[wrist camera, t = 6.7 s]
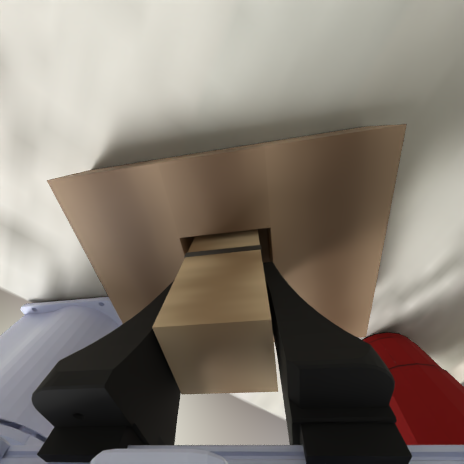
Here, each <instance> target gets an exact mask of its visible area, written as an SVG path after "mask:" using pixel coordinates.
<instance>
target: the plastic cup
mask: <svg viewBox="0 0 464 464" xmlns="http://www.w3.org/2000/svg"><path fill="white" fill-rule="evenodd" d="M363 341H365V342H367V343H368V344H370V345H371V346H372V347H373V348H374V350H375V351H376V352H377V354H378V355H379V356H380V357H381V359H382V360H383V361H384V363H385V364H386V366H387V367H388V369H389V371H390V372H391V374H392V375H393V378H394V380H395V388H394V391H393V394H392V397H391V400H390V403H389V405H390V407H391V409H392V411H393V413H394V415H395V416H396V420H397V421H396V423H395V424H396V426H397V428H398V430H399V432H400V434H401V435H402V437H403V439H404V441H405V443H406V445H464V387H463V386H462V385H461V384H460V383H459V382H458V381H457V380H456V379H455V378H454V377H453V376H451V375H450V374H449V373H448V372H447V371H446V370H444V369H442V368H441V367H440V366H439V365H438V364H437V363H436V362H435V361H434V360H432V359H431V358H430V357H429V356H428V355H427V354H426V353H425V352H424V351H423V350H422V349H421V348H420V347H419V346H418V345H417V344H415V343H414V342H412V341H411V340H410V339H408V338H407V337H405V336H403V335H401V334H397V333H381V334H375V335H373V336H370V337H368V338H365V339H364V340H363Z"/></svg>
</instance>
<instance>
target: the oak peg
mask: <svg viewBox="0 0 464 464" xmlns="http://www.w3.org/2000/svg"><path fill="white" fill-rule="evenodd" d="M184 258H185V259H184V261H183V263H182V265H181V267H180V270H179V272H178V274H177V276H176V278H175V280H174V282H173V284H172V286H171V289H170V291H169V293H168V295H167V297H166V299H165V301H164V303H163V306H162V308H161V310H160V312H159V314H158V316H157V318H156V320H155V322H154V325H153V327H152V328H153V331H154V333H155V335H156V337H157V340H158V342H159V344H160V347H161V349H162V351H163V353H164V356H165V358H166V360H167V362H168V365H169V367H170V369H171V371H172V374H173V376H174V378H175V380H176V383H177V385H178V387H179V389H180V392H181V394H208V393H209V394H210V393H245V392H278V385H277V374H276V364H275V353H274V342H273V332H272V321H271V314H270V307H269V301H268V294H267V288H266V281H265V275H264V268H263V258H262V249H261V245H260V242H259V236H258V229H253V230H245V231H236V232H227V233H218V234H209V235H201V236H195V238H194V240H193V242H192V244H191V246H190V248H189V251H188V253H186V254H185V256H184Z"/></svg>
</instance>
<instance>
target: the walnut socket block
mask: <svg viewBox="0 0 464 464" xmlns="http://www.w3.org/2000/svg"><path fill="white" fill-rule="evenodd" d="M406 125H407V124H401V125H384V126H367V127H359V128H353V129H347V130H340V131H334V132H328V133H321V134H315V135H309V136H303V137H296V138H290V139H284V140H277V141H271V142H265V143H258V144H252V145H246V146H239V147H233V148H227V149H220V150H214V151H208V152H202V153H195V154H189V155H183V156H176V157H170V158H164V159H157V160H151V161H145V162H138V163H132V164H126V165H120V166H113V167H107V168H101V169H94V170H89V171H85V172H80V173H76V174H72V175H68V176H64V177H59V178H55V179H51V180H47V182H48V183H49V185H50V187H51V189H52V191H53V193H54V195H55V197H56V199H57V200H58V202H59V204H60V206H61V208H62V210H63V212H64V214H65V215H66V217H67V219H68V221H69V223H70V225H71V227H72V229H73V231H74V232H75V234H76V236H77V238H78V240H79V242H80V244H81V246H82V248H83V249H84V251H85V253H86V255H87V257H88V259H89V261H90V263H91V265H92V266H93V268H94V270H95V272H96V274H97V276H98V278H99V280H100V282H101V283H102V285H103V287H104V289H105V291H106V293H107V295H108V297H109V299H110V300H111V302H112V304H113V306H114V308H115V310H116V312H117V314H118V316H119V317H120V319H121V321H122V323H123V324H124V323H125V322H127V321H128V320H130V319H131V318H132V317H134V316H135V315H136V314H138V313H139V312H140V311H141V310H143V309H144V308H145V307H146V306H147V305H149V304H150V303H151V302H152V301H153V300H154V299H155V298H156V297H157V296H158V295H160V294H161V293H162V292H163V291H164V290H165V289H166V288H167V287H168V286H169V285H170V284H171V283H172V282H173V281H174V280H175V278H176V276H177V274H178V272H179V270H180V267H181V265H182V263H183V261H184V259H185V258H184V256H185V254H186V253H188V251H189V248H190V246H191V244H192V242H193V240H194V238H195V236H201V235H209V234H218V233H227V232H236V231H245V230H253V229H258V236H259V242H260V245H261V249H262V258H263V263H265V262H273V263H274V264H275V266H276V268H277V269H278V271H279V272H280V274H281V275H282V276H283V278H284V279H285V280H286V281H287V283H288V284H289V285H290V286H291V287H292V288H293V289H294V291H295V292H296V293H297V294H298V295H299V296H300V297H301V298H302V299H303V300H305V301H306V302H307V303H308V304H309V305H310V306H311V307H313V308H314V309H315V310H316V311H317V312H319V313H320V314H321V315H323V316H324V317H326V318H327V319H328V320H330V321H331V322H332V323H334V324H335V325H337V326H339V327H340V328H342V329H343V330H345V331H347V332H348V333H350V334H352V335H354V336H356V337H366V334H367V329H368V323H369V318H370V313H371V308H372V302H373V297H374V292H375V287H376V282H377V276H378V271H379V266H380V261H381V255H382V250H383V245H384V240H385V235H386V229H387V224H388V219H389V214H390V208H391V203H392V198H393V193H394V188H395V182H396V177H397V172H398V167H399V161H400V156H401V151H402V146H403V141H404V135H405V130H406ZM273 342H275V341H274V337H273Z"/></svg>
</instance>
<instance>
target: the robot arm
mask: <svg viewBox="0 0 464 464" xmlns="http://www.w3.org/2000/svg"><path fill="white" fill-rule="evenodd" d="M263 268H264V275H265V281H266V288H267V294H268V301H269V307H270V314H271V321H272V332H273V337H274V341H275V346H276V351H277V358H278V364H279V371H280V378H281V385H282V392H283V399H284V406H285V413H286V420H287V427H288V433H289V442H290V445H174V442H175V433H176V423H177V415H178V408H179V400H180V393H181V392H180V389H179V387H178V385H177V383H176V380H175V378H174V376H173V374H172V371H171V369H170V367H169V365H168V362H167V360H166V358H165V356H164V353H163V351H162V349H161V347H160V344H159V342H158V340H157V337H156V335H155V333H154V331H153V328H152V327H153V325H154V322H155V320H156V318H157V316H158V314H159V312H160V310H161V308H162V306H163V303H164V301H165V299H166V297H167V295H168V293H169V291H170V289H171V286H172V284H173V282H174V281H173V282H172V283H171V284H170V285H169V286H168V287H167V288H166V289H165V290H164V291H163V292H162V293H161V294H160V295H158V296H157V297H156V298H155V299H154V300H153V301H152V302H151V303H150V304H149V305H147V306H146V307H145V308H144V309H143V310H141V311H140V312H139V313H138V314H136V315H135V316H134V317H132V318H131V319H130V320H128V321H127V322H125V323H124V324H123V323H122V321H121V319H120V317H119V316H118V314H117V312H116V310H115V308H114V306H113V304H112V302H111V300H110V299H109V297H101V298H89V299H77V300H65V301H54V302H42V303H30V304H24V305H23V306H22V307H21V311H22V312H23V313H24V315H25V316H23V317H22V318H21V319H19V320H18V321H17V322H16V323H15V324H14V325H12V326H11V327H10V328H9V329H8V330H6V331H5V332H4V333H3V334H2V335H0V464H464V445H406V443H405V441H404V439H403V437H402V435H401V434H400V432H399V430H398V428H397V426H396V424H395V423H396V421H397V420H396V416H395V415H394V413H393V411H392V409H391V407H390V405H389V403H390V400H391V397H392V394H393V391H394V388H395V380H394V378H393V375H392V374H391V372H390V371H389V369H388V367H387V366H386V364H385V363H384V361H383V360H382V359H381V357H380V356H379V355H378V354H377V352H376V351H375V350H374V348H373V347H372V346H371V345H370V344H368V343H367V342H365V341H363V340H361V339H359V338H357V337H356V336H354V335H352V334H350V333H348V332H347V331H345V330H343V329H342V328H340V327H339V326H337V325H335V324H334V323H332V322H331V321H330V320H328V319H327V318H326V317H324V316H323V315H321V314H320V313H319V312H317V311H316V310H315V309H314V308H313V307H311V306H310V305H309V304H308V303H307V302H306V301H305V300H303V299H302V298H301V297H300V296H299V295H298V294H297V293H296V292H295V291H294V289H293V288H292V287H291V286H290V285H289V284H288V283H287V281H286V280H285V279H284V278H283V276H282V275H281V274H280V272H279V271H278V269H277V268H276V266H275V264H274V263H273V262H265V263H263Z"/></svg>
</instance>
